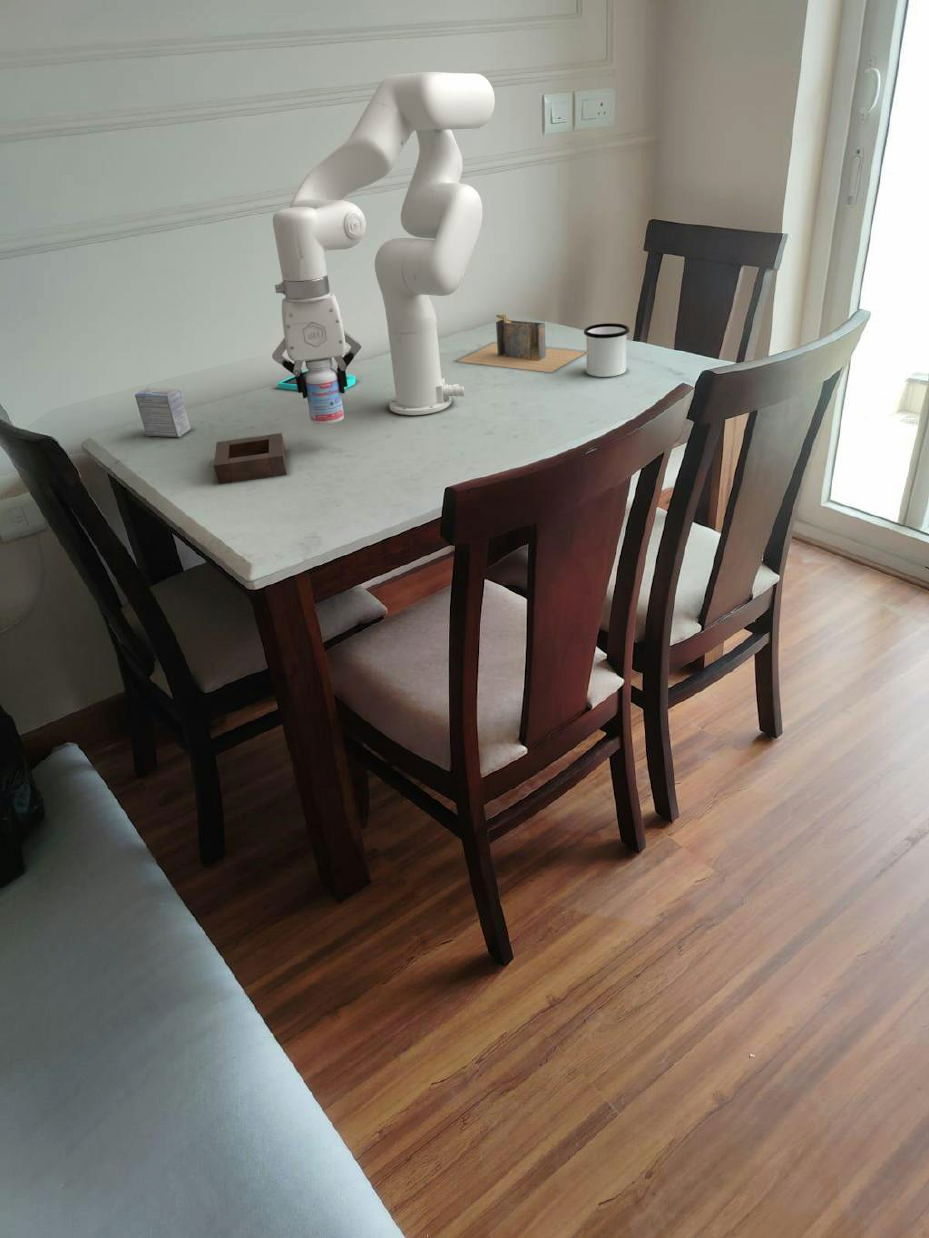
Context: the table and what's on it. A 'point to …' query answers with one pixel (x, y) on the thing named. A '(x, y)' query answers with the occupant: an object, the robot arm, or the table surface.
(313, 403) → the pill bottle
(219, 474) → the holder
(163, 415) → the medicine box
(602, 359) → the mug
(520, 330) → the architectural model on board
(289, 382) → the handheld game console
